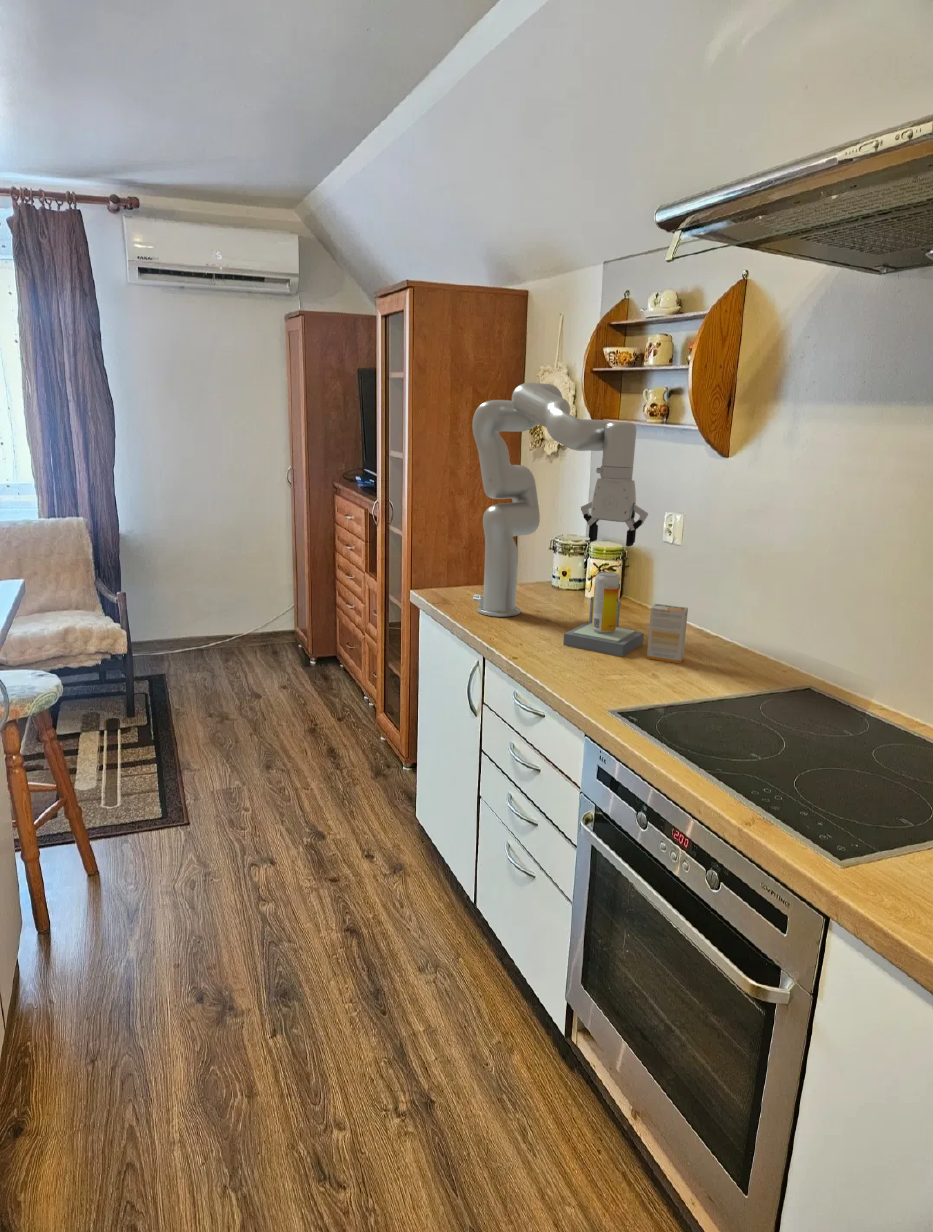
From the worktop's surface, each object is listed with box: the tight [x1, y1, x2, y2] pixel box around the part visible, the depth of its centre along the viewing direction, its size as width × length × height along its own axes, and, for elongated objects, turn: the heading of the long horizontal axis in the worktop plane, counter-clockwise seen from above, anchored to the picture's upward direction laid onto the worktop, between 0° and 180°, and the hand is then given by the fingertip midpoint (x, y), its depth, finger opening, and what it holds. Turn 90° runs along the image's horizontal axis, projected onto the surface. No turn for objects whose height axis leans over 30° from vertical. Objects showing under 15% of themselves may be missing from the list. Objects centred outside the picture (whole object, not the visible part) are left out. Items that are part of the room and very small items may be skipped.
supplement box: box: [646, 603, 689, 664], centre depth 197 cm, size 8×5×13 cm, turn 65°
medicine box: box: [588, 596, 622, 628], centre depth 223 cm, size 8×4×9 cm, turn 84°
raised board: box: [562, 622, 645, 658], centre depth 209 cm, size 16×14×4 cm
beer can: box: [592, 571, 621, 634], centre depth 207 cm, size 6×6×15 cm
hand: (611, 543), depth 203 cm, fingers open, 9 cm apart
